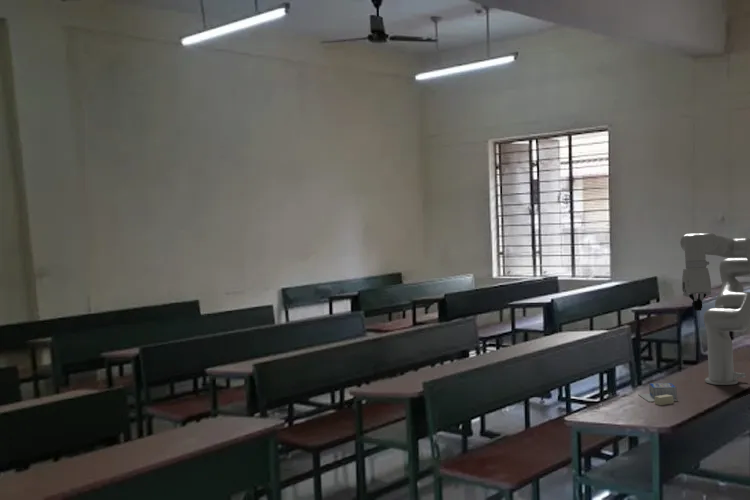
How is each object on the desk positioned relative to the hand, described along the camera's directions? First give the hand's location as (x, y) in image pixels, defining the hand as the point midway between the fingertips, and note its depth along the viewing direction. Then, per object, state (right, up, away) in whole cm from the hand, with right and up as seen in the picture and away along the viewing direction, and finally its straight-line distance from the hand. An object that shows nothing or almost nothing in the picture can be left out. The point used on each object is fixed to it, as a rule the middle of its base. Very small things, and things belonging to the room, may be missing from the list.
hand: (697, 310), depth 287 cm
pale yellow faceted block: (-20, -35, -15) cm, 43 cm away
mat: (-19, -34, -6) cm, 40 cm away
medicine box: (-12, -31, -7) cm, 34 cm away
